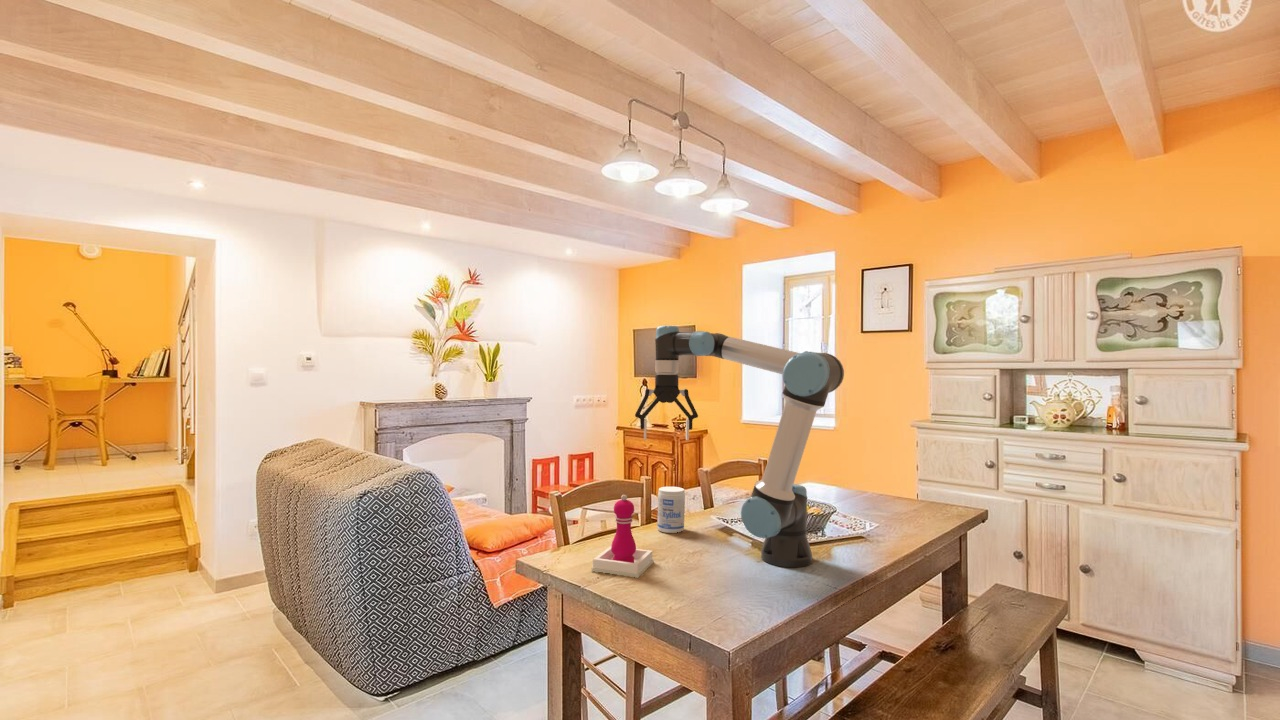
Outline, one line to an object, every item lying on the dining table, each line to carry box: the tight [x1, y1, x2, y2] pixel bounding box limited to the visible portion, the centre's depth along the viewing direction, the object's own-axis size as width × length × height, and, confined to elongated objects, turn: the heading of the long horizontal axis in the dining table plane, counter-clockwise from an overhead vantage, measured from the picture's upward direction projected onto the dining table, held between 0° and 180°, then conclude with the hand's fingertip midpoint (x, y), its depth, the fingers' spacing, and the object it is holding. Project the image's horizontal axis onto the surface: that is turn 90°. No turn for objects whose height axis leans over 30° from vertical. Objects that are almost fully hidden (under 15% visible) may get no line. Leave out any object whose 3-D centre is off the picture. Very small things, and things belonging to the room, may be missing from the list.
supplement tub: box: [656, 486, 686, 534], centre depth 215 cm, size 10×10×15 cm
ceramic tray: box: [591, 545, 655, 579], centre depth 176 cm, size 14×14×4 cm
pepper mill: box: [610, 494, 637, 563], centre depth 176 cm, size 7×7×20 cm
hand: (666, 439), depth 194 cm, fingers open, 13 cm apart
